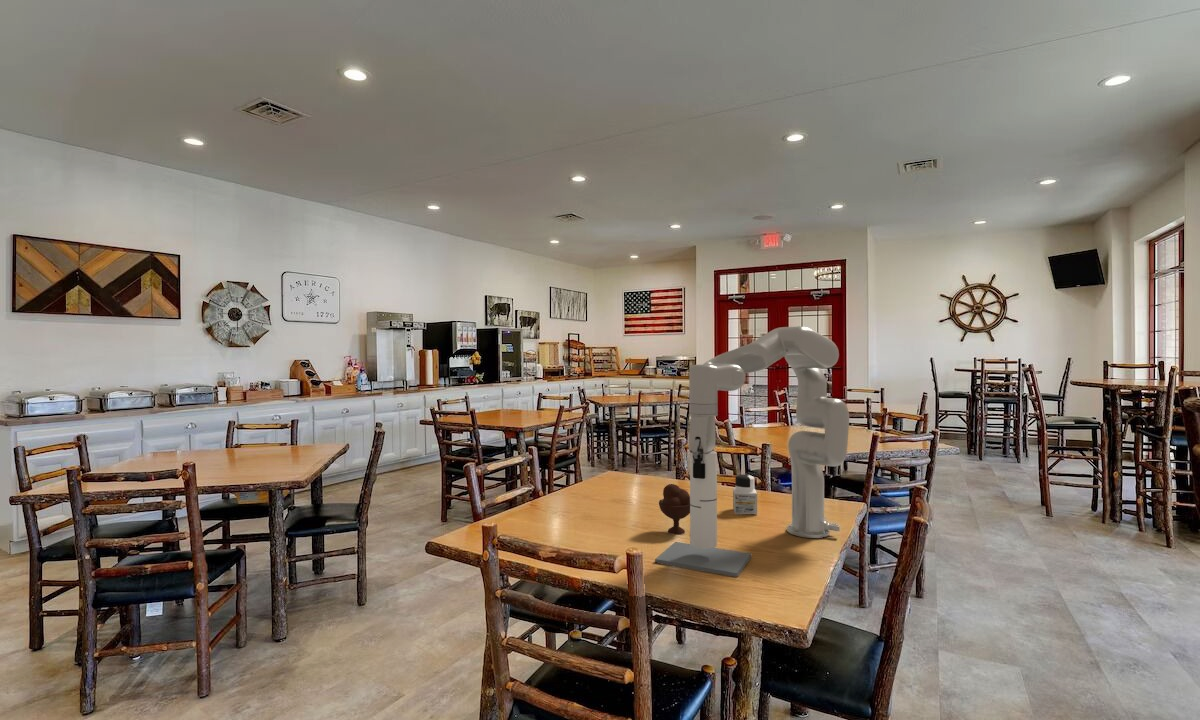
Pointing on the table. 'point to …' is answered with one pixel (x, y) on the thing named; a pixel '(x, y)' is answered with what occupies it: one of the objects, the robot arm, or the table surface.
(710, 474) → the cylindrical container
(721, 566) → the board
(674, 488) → the ice cream bowl
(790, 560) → the table surface
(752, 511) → the container
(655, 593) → the table surface
